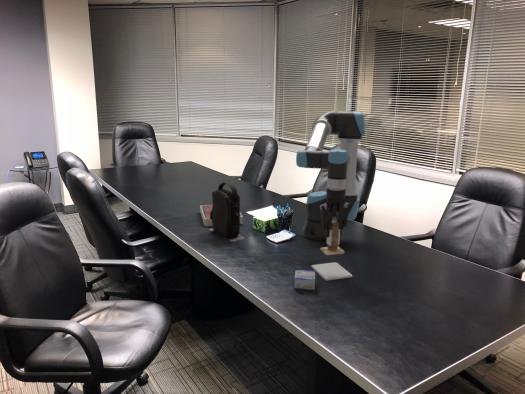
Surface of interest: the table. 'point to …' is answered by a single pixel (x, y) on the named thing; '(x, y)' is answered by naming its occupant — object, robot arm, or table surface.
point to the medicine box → (304, 280)
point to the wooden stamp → (333, 241)
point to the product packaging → (205, 214)
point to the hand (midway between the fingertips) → (332, 243)
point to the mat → (331, 271)
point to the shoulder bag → (226, 213)
